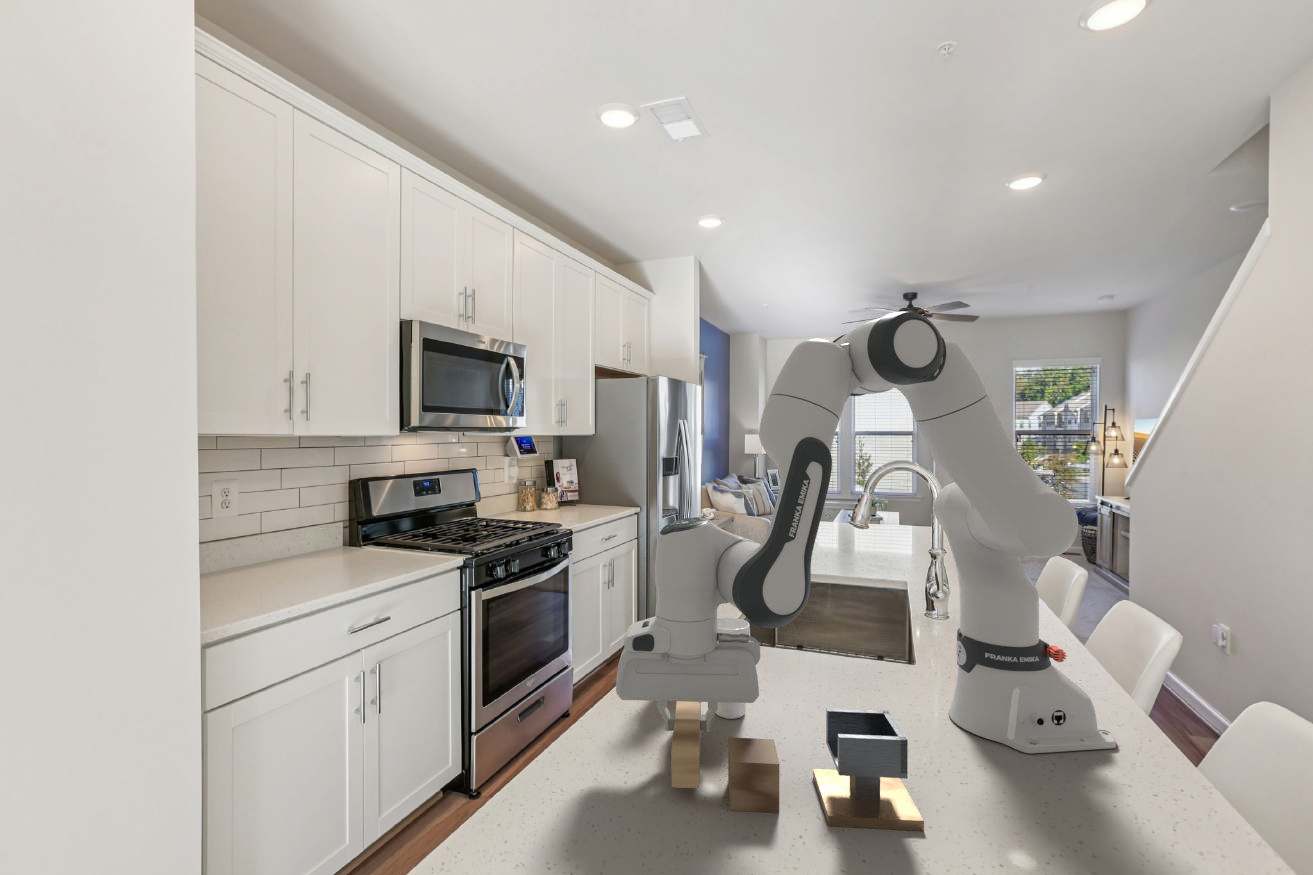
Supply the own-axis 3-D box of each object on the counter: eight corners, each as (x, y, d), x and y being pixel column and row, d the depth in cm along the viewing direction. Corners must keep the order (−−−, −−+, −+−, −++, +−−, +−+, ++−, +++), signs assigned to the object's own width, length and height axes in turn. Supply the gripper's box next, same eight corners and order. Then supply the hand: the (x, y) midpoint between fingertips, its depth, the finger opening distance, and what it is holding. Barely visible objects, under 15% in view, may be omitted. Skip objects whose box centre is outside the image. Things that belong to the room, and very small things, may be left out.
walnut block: (773, 784, 79) (773, 739, 79) (779, 812, 73) (779, 764, 73) (728, 781, 80) (728, 737, 79) (730, 810, 74) (730, 761, 74)
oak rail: (678, 713, 95) (678, 685, 95) (700, 713, 95) (700, 685, 95) (671, 787, 75) (671, 751, 75) (699, 788, 75) (699, 752, 75)
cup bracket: (896, 781, 80) (896, 707, 80) (924, 830, 70) (924, 745, 70) (813, 777, 81) (813, 703, 81) (828, 825, 71) (828, 741, 71)
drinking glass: (749, 724, 95) (749, 631, 95) (707, 720, 97) (707, 628, 97) (751, 705, 102) (751, 618, 102) (711, 702, 103) (711, 615, 103)
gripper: (758, 626, 87) (759, 720, 87) (619, 624, 89) (620, 717, 89) (762, 641, 81) (763, 742, 81) (613, 639, 83) (614, 738, 83)
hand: (687, 729), depth 85 cm, fingers closed on oak rail, 3 cm apart
